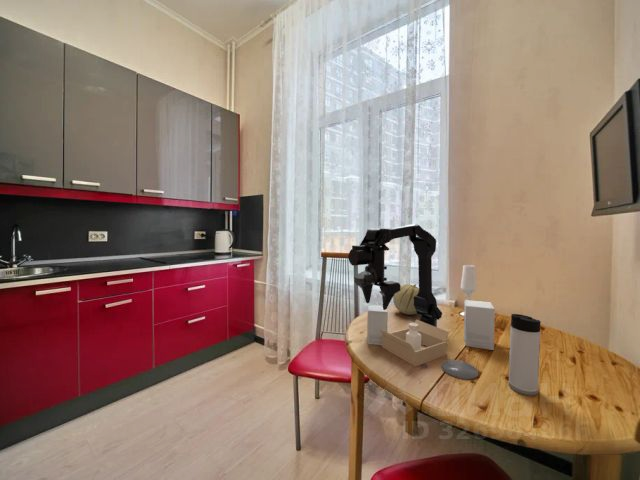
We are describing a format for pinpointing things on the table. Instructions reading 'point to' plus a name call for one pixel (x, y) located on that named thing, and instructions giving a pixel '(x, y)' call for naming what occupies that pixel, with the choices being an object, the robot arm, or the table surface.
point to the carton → (429, 338)
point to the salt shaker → (414, 336)
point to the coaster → (459, 369)
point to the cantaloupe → (406, 299)
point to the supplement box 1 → (376, 324)
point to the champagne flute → (468, 281)
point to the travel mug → (524, 354)
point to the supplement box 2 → (479, 324)
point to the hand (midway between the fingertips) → (375, 306)
